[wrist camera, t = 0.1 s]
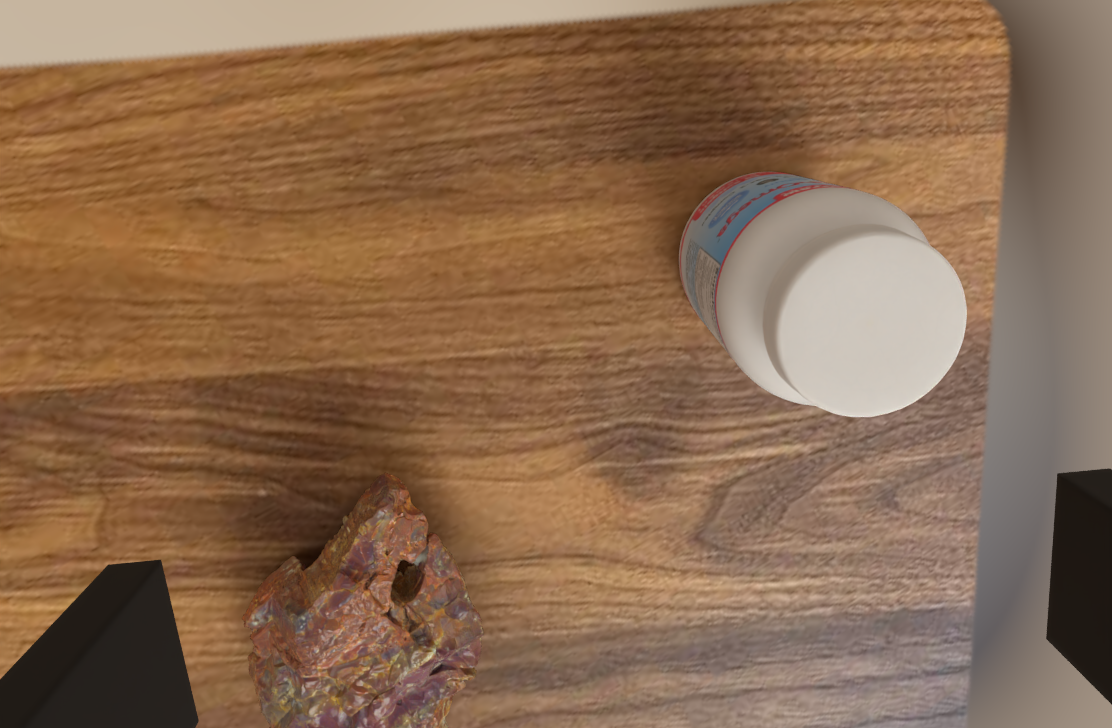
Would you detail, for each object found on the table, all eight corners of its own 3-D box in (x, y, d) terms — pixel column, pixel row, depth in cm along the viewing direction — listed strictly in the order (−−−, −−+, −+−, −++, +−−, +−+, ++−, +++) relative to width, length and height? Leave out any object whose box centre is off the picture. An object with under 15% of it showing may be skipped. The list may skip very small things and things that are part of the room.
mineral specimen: (178, 517, 32) (218, 573, 26) (371, 439, 36) (443, 474, 30) (279, 787, 35) (334, 889, 29) (447, 690, 39) (525, 764, 33)
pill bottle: (831, 155, 31) (993, 174, 20) (848, 322, 33) (1007, 422, 22) (661, 188, 31) (732, 224, 20) (686, 352, 33) (764, 467, 22)
